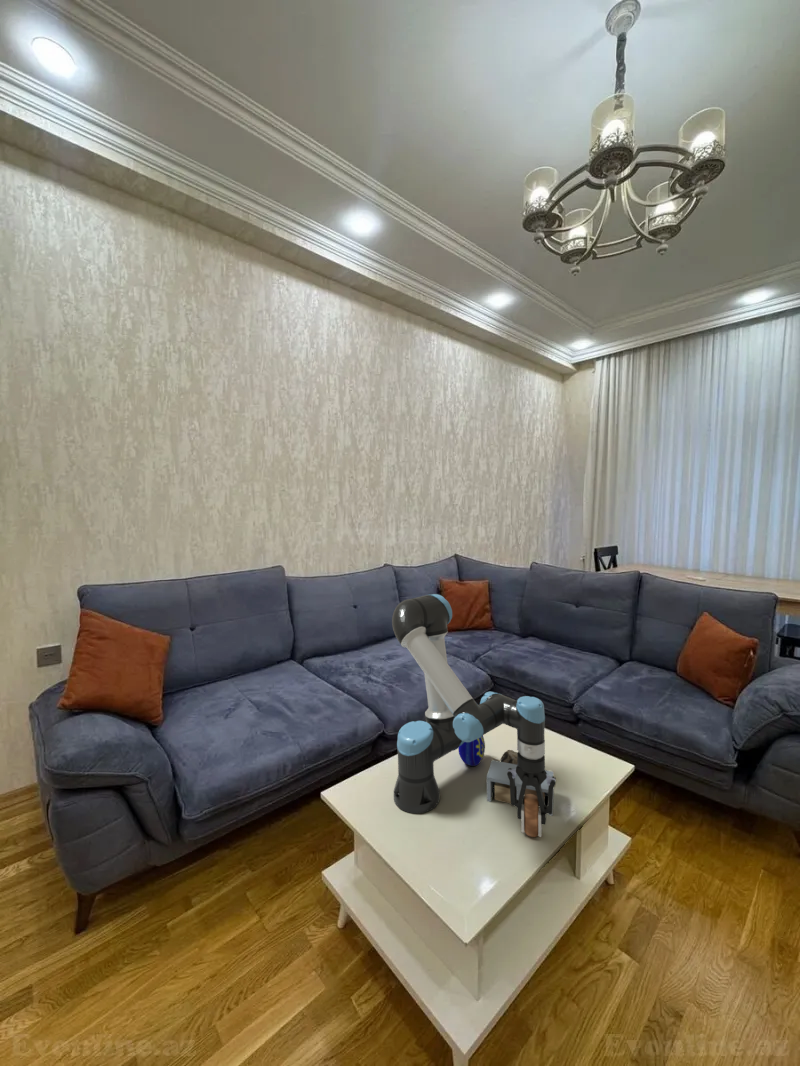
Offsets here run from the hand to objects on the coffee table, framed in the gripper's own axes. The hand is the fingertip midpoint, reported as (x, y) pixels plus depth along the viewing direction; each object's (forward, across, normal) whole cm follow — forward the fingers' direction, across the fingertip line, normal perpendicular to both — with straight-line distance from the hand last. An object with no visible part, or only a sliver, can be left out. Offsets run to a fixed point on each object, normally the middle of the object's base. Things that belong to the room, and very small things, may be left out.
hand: (531, 831), depth 124 cm
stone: (+1, -8, +27) cm, 28 cm away
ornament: (+1, -24, +29) cm, 37 cm away
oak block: (+1, -9, +14) cm, 17 cm away
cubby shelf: (+1, -5, +15) cm, 16 cm away
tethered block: (0, 0, +8) cm, 8 cm away
